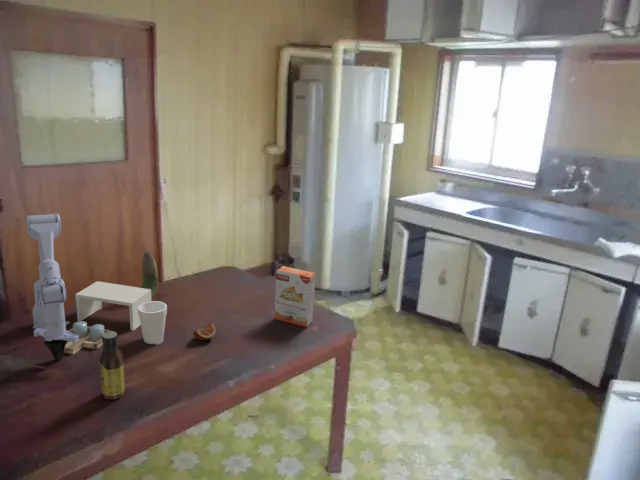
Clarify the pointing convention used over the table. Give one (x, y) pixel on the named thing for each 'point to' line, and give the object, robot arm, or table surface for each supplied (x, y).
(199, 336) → the fruit slice
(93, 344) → the serving board
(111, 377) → the sauce bottle
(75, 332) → the pale blue rounded cylinder
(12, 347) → the table surface
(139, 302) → the shelf
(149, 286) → the vegetable
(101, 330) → the grey-blue tapered cylinder
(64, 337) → the robot arm
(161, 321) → the foam cup
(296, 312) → the cracker box
